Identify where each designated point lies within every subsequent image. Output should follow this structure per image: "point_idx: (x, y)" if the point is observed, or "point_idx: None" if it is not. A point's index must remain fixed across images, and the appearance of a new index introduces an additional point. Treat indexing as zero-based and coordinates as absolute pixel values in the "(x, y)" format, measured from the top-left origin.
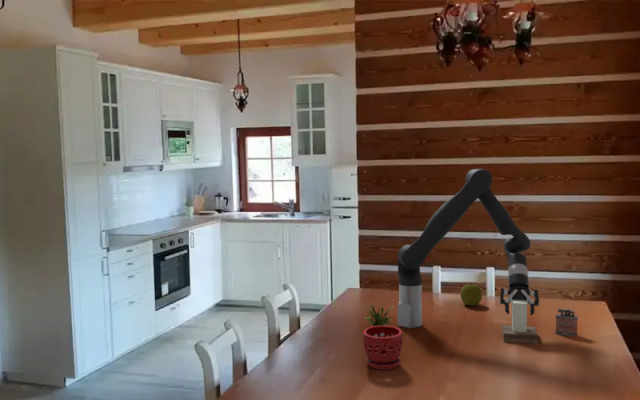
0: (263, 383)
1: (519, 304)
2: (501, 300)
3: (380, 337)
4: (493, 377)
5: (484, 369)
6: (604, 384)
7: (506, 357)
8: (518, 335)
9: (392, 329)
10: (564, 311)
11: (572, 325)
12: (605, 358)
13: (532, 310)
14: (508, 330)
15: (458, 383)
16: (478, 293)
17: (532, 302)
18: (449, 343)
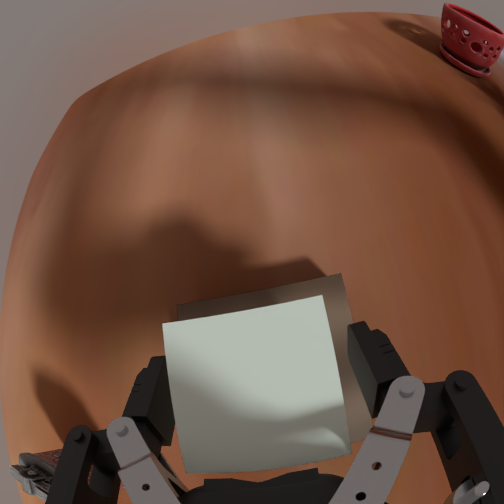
0: None
1: (246, 314)
2: (459, 375)
3: (455, 5)
4: (283, 47)
5: (312, 63)
6: (96, 103)
7: (284, 128)
8: (268, 289)
9: (485, 31)
10: (39, 482)
11: (54, 453)
12: (37, 237)
13: (148, 368)
14: None
15: (328, 28)
16: None
17: (119, 424)
18: (476, 188)
